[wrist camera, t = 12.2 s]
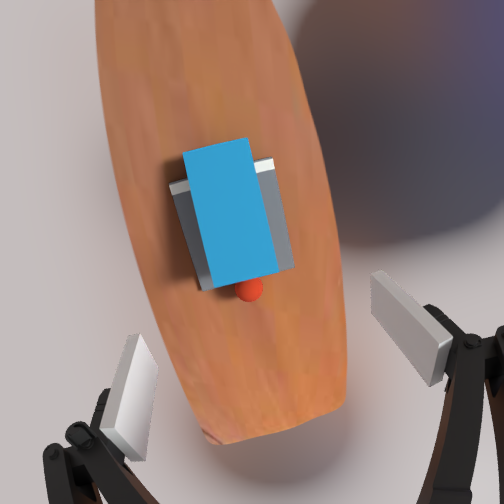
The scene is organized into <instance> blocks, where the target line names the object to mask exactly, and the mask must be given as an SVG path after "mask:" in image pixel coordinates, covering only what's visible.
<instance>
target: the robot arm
mask: <svg viewBox="0 0 504 504" xmlns="http://www.w3.org/2000/svg"><path fill="white" fill-rule="evenodd" d="M370 278H371V313H372V314H373V316H374V317H375V318H376V319H377V320H378V322H379V323H380V324H381V326H382V327H383V328H384V329H385V331H386V332H387V333H388V334H389V336H390V337H391V338H392V339H393V341H394V342H395V343H396V345H397V346H398V347H399V348H400V350H401V351H402V352H403V353H404V355H405V356H406V357H407V358H408V360H409V361H410V362H411V364H412V365H413V366H414V368H415V369H416V370H417V372H418V373H419V374H420V376H421V377H422V378H423V380H424V381H425V382H426V383H427V385H428V386H429V387H431V386H432V385H435V384H436V383H438V382H440V381H442V379H443V375H444V372H445V373H446V374H447V375H448V377H449V378H448V381H447V384H446V388H445V392H446V394H445V400H444V406H443V411H442V416H441V421H440V426H439V430H438V434H437V439H436V443H435V447H434V450H433V454H432V458H431V461H430V465H429V468H428V472H427V474H426V478H425V481H424V484H423V487H422V489H421V493H420V495H419V498H418V501H417V503H416V504H471V500H472V492H471V490H470V486H471V481H472V477H473V472H474V467H475V462H476V457H477V451H478V445H479V438H480V429H481V422H482V412H483V399H484V382H485V386H486V391H487V395H488V400H489V405H490V410H491V415H492V421H493V427H494V434H495V441H496V449H497V457H498V458H497V459H498V470H499V490H500V504H504V325H503V326H500V327H499V328H498V329H497V331H496V334H495V336H492V337H488V338H483V339H482V338H481V337H480V336H478V335H476V334H465V333H464V332H463V331H462V330H461V329H460V328H459V327H458V326H457V325H456V324H455V323H454V322H453V321H452V320H451V319H449V318H448V317H447V316H446V315H445V314H444V313H443V312H442V311H441V310H440V309H439V308H437V307H435V306H433V305H430V304H428V305H425V306H423V307H422V306H421V305H420V304H419V303H418V302H417V301H416V300H415V299H414V298H413V297H411V296H410V295H409V294H408V293H407V292H406V291H405V290H404V289H403V288H402V287H401V286H399V285H398V284H397V283H396V282H395V281H394V280H393V279H392V278H390V277H389V276H388V275H387V274H386V273H385V272H384V271H383V270H380V271H377V272H374V273H371V274H370ZM158 371H159V368H158V366H157V364H156V363H155V361H154V359H153V357H152V355H151V353H150V352H149V350H148V348H147V346H146V344H145V342H144V340H143V338H142V336H141V334H140V333H139V334H134V335H129V336H128V338H127V341H126V344H125V347H124V350H123V352H122V356H121V359H120V362H119V365H118V367H117V371H116V374H115V377H114V380H113V383H112V386H111V388H109V389H104V391H103V392H102V393H101V395H100V396H99V399H98V402H97V406H96V408H95V412H94V414H93V417H92V421H91V424H90V427H89V426H88V425H87V424H86V423H85V422H82V421H80V422H75V423H73V424H72V425H70V426H69V427H68V429H67V431H66V434H65V438H66V440H67V441H68V442H69V443H70V444H71V445H72V446H71V447H68V448H63V447H62V446H61V445H60V444H58V443H53V444H50V445H48V446H47V447H46V449H45V450H44V452H43V464H44V474H45V481H46V488H47V494H48V500H49V504H103V503H102V500H101V497H100V494H99V490H100V492H101V493H102V495H103V496H104V498H105V499H106V501H107V502H108V504H159V503H158V502H157V500H156V499H155V498H154V497H153V496H152V495H151V494H150V492H149V491H148V490H147V489H146V488H145V487H144V486H143V484H142V483H141V482H140V481H139V480H138V478H137V477H136V476H135V474H134V473H133V472H132V471H131V469H130V468H129V467H128V466H127V464H126V463H124V458H125V456H126V457H127V458H128V459H129V460H130V461H146V453H147V444H148V436H149V429H150V422H151V415H152V408H153V402H154V395H155V389H156V383H157V377H158ZM98 489H99V490H98Z"/></svg>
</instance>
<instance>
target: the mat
mask: <svg viewBox="0 0 504 504" xmlns="http://www.w3.org/2000/svg"><path fill="white" fill-rule="evenodd" d="M253 162H254V166H255V170H256V174H257V178H258V182H259V186H260V190H261V194H262V199H263V203H264V207H265V211H266V216H267V220H268V224H269V228H270V233H271V237H272V241H273V246H274V250H275V254H276V259H277V263H278V268H279V272H280V271H284V270H287V269H291V268H295V266H294V260H293V255H292V250H291V245H290V240H289V235H288V230H287V225H286V220H285V215H284V210H283V205H282V201H281V196H280V191H279V186H278V182H277V177H276V173H275V167H274V163H273V159H272V157H267V158H263V159H259V160H254V161H253ZM169 186H170V190H171V193H172V196H173V200H174V203H175V207H176V210H177V213H178V217H179V220H180V223H181V226H182V230H183V233H184V236H185V239H186V243H187V246H188V249H189V252H190V255H191V258H192V261H193V264H194V267H195V270H196V273H197V276H198V279H199V282H200V285H201V288H202V291H207V290H211V289H215V287H214V285H213V281H212V277H211V273H210V269H209V265H208V261H207V257H206V253H205V249H204V245H203V241H202V237H201V233H200V229H199V225H198V220H197V216H196V212H195V208H194V203H193V199H192V195H191V190H190V186H189V181H188V178H185V179H181V180H178V181H175V182H171V183H169ZM233 284H234V283H233ZM228 285H230V284H228ZM224 286H226V285H224ZM220 287H223V286H220ZM216 288H219V287H216Z"/></svg>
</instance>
